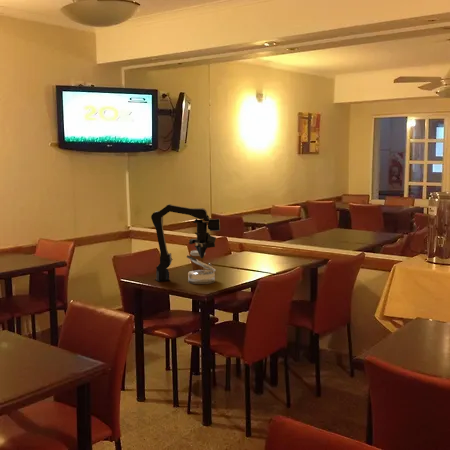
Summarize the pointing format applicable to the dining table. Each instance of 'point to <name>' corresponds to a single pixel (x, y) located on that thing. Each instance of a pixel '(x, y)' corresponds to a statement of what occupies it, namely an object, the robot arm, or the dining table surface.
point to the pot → (201, 277)
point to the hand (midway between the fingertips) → (201, 258)
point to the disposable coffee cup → (197, 256)
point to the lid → (201, 263)
